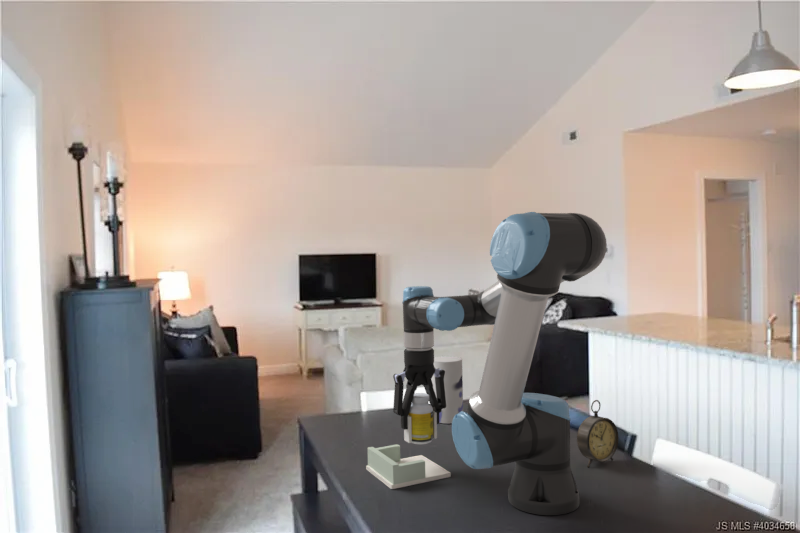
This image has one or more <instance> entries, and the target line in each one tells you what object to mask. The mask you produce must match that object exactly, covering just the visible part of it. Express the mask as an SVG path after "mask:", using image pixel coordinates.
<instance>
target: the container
mask: <svg viewBox="0 0 800 533" xmlns="http://www.w3.org/2000/svg"><path fill="white" fill-rule="evenodd" d="M434 367H435V369H438V368H439V369H442V370H444V371H445V375H444V388H445V398H446V408H443V409H442V411H441V412H440V413H439V424H451V425H452V421H453V418H454V416H455V415H456V414H458V413H460V412H461V411H463V412H464V387H463V384H464V382H463V358H462V357H459V356H449V355H447V356H445V355H444V356H443V355H442V356H434ZM431 380H432V383H433V389H434V392H435V395H436V385H435V376H434V375H433V376H432V378H431ZM436 398H437V395H436Z"/></svg>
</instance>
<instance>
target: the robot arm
mask: <svg viewBox="0 0 800 533" xmlns="http://www.w3.org/2000/svg"><path fill="white" fill-rule="evenodd" d="M605 234H606V233H605V232H604V229H603V228H602V227H601V225H599V223H598V222H597V221H596V220H594V219H593V218H592V217H590V216H588V215H585V214H583V213H577V212H567V213H566V212H565V213H564V212H563V213H562V212H561V213H559V212H554V213H553V212H550V213H549V212H535V211H527V212H524V213H523V212H522V213H515V214H511V215H509V216H507V217H506V218H504V219H503V220H501V222H500V223H499V224H498V225H497V227H496V228H495V230H494V232H493V234H492V236H491V240H490V245H489V255H490V256H491V259H490V262H491V266H492V269H493V270H494V271H495V272H496V279H497V282H495V283H493V284H492V285H490V286H489V287H487V288H486V289H485V290H483V291H481V292H480V293H478V294H466V295H453V296H452V295H449V296H448V295H447V296H434V290H433V289H432V287H431V286H426V285H424V286H422V285H417V286H407V287H405V288H404V289H403V291H402V292H403V293H402V316H403V318H402V321H403V322H402V323H403V347H404V348H405V349H404V350H403V358H404V359H403V362H404V369H403V371H402V372H401V373H394V374H393V376H392V377H393V381H394V392H393V393H394V394H393V411H392V412H393V414H396V415H397V416H400V428H401V429H403V439H404V442H406V443H407V444H413V443H412V425H411V416H409V411H410V407H411V404H412V400H413V396H414V393H416V391H417V389H418V387H421V386H422V387H423V388H424V390H425V394H428V395H429V402H428V403H429V404H430V405H431V406H432V407H433V439H437V438H438V425H439V424H440V423H439V413H440V412H441V411H442V409H443V408H446V398H445V388H444V375H445V371H444V370H442V369H439V368H438V369H435V367H434V358H435V350H434V349H433V347H434V346H435V336H434V329H435V330H439V331H441V332H442V331H448V332H450V331H451V332H452V331H455V330H456V329H458V328H465V327H476V326H486V325H487V326H493V328H492V333H491V337H490V343H489V346H488V350H487V353H486V354H487V356H486V358H485V359H486V360H485V363H484V368H483V373H482V377H481V382H480V386H479V389H478V390H477V391H475V392H473V393H472V394H471V396H470V397H469V400H468V405H467V409H466V411H464V410H463V411H461V412H460V413H458V414H456V415H455V416H454V418H453V421H452V423H451V435H452V436H451V437H452V440H453V444H454V446H455V450H456V452H457V453H458V456H459V457H460V459H461V460H462V462H463V463H464V464H465V465H466V466H468V467H469V468H471V469H473V470H481V469H482V470H483V469H492V468H494V467H498V466H503V465H506V464H511V463H515V466H514V470H513V473H512V477H511V479H510V480H511V481H510V483H509V486H508V488H507V496H508V498H507V499H508V502H509V504H510V505H511V506H512V507H514V508H516V509H517V510H519V511H522V512H525V513H530V514H534V515H539V516H558V515H565V514H569V513H572V512H575V511H576V510H577V509H578V508H579V506H580V492H579V489H578V487H577V483H576V480H575V477H574V474H573V471H572V468H571V417H570V406H569V404H568V402H567V401H566V400H565V399H563V398H561V397H558V396H554V395H550V394H546V393H545V394H543V393H537V392H536V393H535V392H525V387H526V384H527V381H528V376H529V373H530V369H531V366H532V362H533V357H534V353H535V350H536V346H537V342H538V338H539V334H540V330H541V327H542V322H543V318H544V314H545V310H546V307H547V304H548V300H549V298H551V297H553V296H555V295H557V294H558V293H559V290H560V286H561V284H562V283H564V282H569V283H570V282H575V281H578V280H579V279H581V278H583V277H585V276H587V275H588V274H590V273H592V272H593V271H594V270H596V269H597V268H598V267H599V266H600V265H601V263H602V262H603V261H604V258H605V255H606V253H607V247H608V246H607V238H606V235H605ZM433 375H434V376H435V385H436V395H437V398H436V395H435V392H434V389H433V383H432V376H433ZM405 379H406V380H407V381H406V385H405V387H406V388H405V392H404V382H405Z"/></svg>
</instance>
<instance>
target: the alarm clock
mask: <svg viewBox="0 0 800 533" xmlns="http://www.w3.org/2000/svg"><path fill="white" fill-rule="evenodd" d="M596 402H597V403H598V404H599V406H598V410H594V409H593V406H594V404H595V403H596ZM600 410H601V402H600V401H599V400H598V399H595V400H593V401H592V403H591V406H590V411H591V412H592V413H593V415H590V416H588V417H586V418H585V419H584V420H583V421H582V422H581V424H580V425H579V427H578V430H577V433H576V444H577V447H578V450H579V451H580V454H581V455H582V456H584V457H585V458H586V459H588V463H587V466H586V468H590V466H591V464H592V463H593V461H594V462H595V461H596V462H598V463H605V462H607V461H609V460H611V461H612V462H614V458H613V457H614V455H615V453H616V451H617V449H618V445H619V440H620V439H619V432H618V428H617V425H616V424H615V422H614V421H612V419H610V418H608V417H604V416H599V414H598V413H599V412H600Z"/></svg>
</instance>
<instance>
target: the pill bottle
mask: <svg viewBox="0 0 800 533" xmlns="http://www.w3.org/2000/svg"><path fill="white" fill-rule="evenodd" d="M409 416H411V425H412V443H411V444H415V445H426V444H430V443H431V442H432V441H433V439H434V438H433V407H432V406H431V405H430V402H429V395H428V394H427V393H426V392H415V393H414V396H413V400H412V404H411V407H410V411H409Z"/></svg>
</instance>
